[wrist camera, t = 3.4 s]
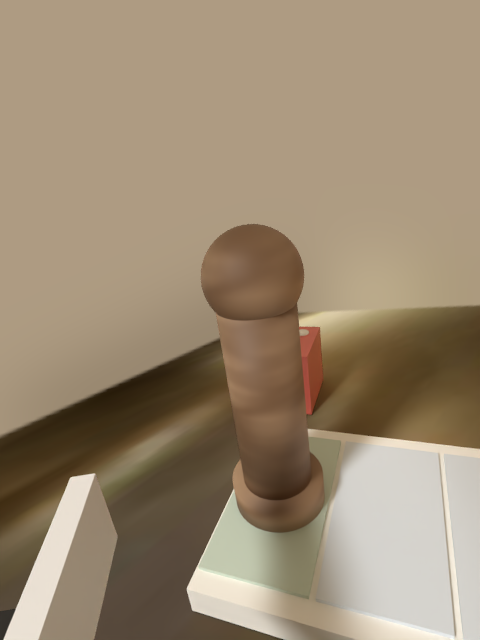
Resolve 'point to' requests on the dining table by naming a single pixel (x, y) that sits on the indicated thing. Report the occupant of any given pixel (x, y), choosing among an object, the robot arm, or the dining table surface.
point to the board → (358, 550)
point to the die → (311, 364)
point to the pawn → (264, 374)
